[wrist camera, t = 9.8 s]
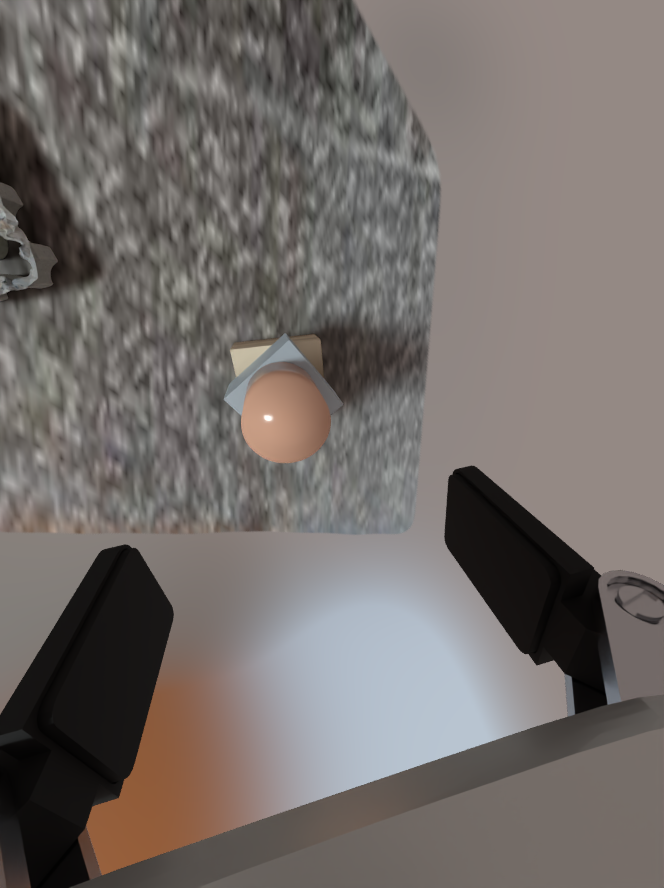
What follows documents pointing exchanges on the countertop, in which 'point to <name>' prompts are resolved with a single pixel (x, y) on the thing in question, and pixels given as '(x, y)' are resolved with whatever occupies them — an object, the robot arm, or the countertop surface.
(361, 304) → the countertop surface
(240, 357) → the tower base block
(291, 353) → the tower top block
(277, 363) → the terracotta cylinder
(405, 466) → the countertop surface
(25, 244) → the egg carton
